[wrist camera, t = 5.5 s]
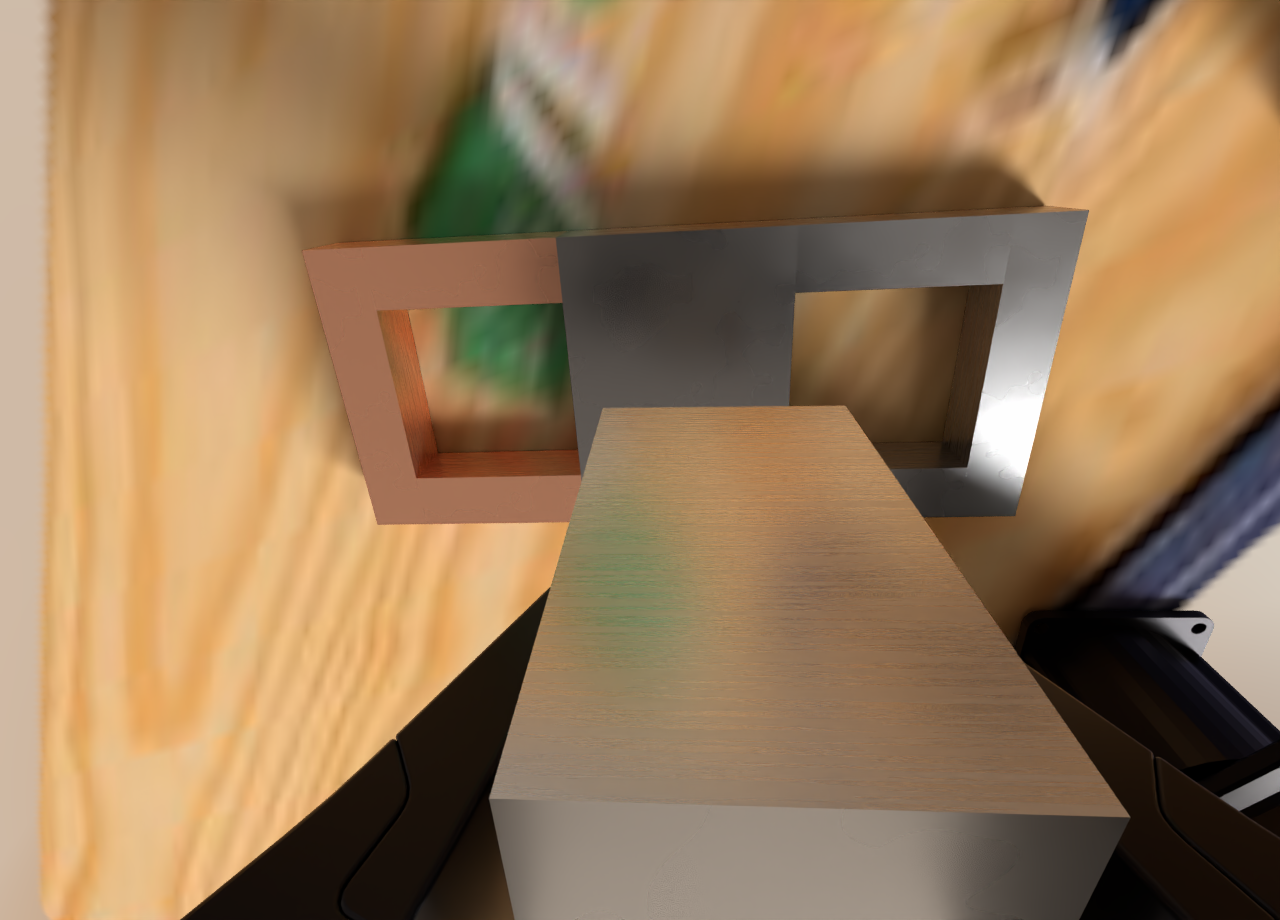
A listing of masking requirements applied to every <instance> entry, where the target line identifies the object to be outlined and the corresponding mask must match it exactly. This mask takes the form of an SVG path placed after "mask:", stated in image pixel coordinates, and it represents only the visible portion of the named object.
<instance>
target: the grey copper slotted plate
mask: <svg viewBox="0 0 1280 920" xmlns="http://www.w3.org/2000/svg"><path fill="white" fill-rule="evenodd" d="M1088 213H1089V210H1082V209H1072V208H1063V207H1053V206H1034V207H1015V208H996V209H977V210H958V211H938V212H919V213H900V214H881V215H862V216H842V217H823V218H804V219H785V220H766V221H746V222H727V223H708V224H689V225H670V226H650V227H631V228H612V229H593V230H574V231H555V232H535V233H516V234H497V235H478V236H459V237H439V238H420V239H401V240H382V241H363V242H343V243H335V244H330V245H325V246H321V247H316V248H312V249H307V250H302V253H303V256H304V260H305V264H306V267H307V271H308V275H309V278H310V282H311V285H312V289H313V293H314V296H315V300H316V303H317V307H318V311H319V314H320V318H321V322H322V325H323V329H324V332H325V336H326V340H327V343H328V347H329V350H330V354H331V358H332V361H333V365H334V369H335V372H336V376H337V379H338V383H339V387H340V390H341V394H342V397H343V401H344V405H345V408H346V412H347V416H348V419H349V423H350V426H351V430H352V434H353V437H354V441H355V444H356V448H357V452H358V455H359V459H360V462H361V466H362V470H363V473H364V477H365V481H366V484H367V488H368V491H369V495H370V499H371V502H372V506H373V509H374V513H375V517H376V520H377V524H378V525H386V524H461V523H536V522H570V519H571V516H572V512H573V509H574V505H575V502H576V499H577V495H578V492H579V488H580V485H581V481H582V478H583V475H584V471H585V468H586V464H587V461H588V457H589V454H590V451H591V447H592V444H593V440H594V437H595V433H596V430H597V426H598V423H599V420H600V416H601V413H602V409H603V408H652V407H757V406H789V396H790V378H791V359H792V340H793V322H794V303H795V293H802V292H826V291H849V290H873V289H896V288H920V287H943V286H967V285H969V291H968V296H967V302H966V308H965V314H964V320H963V325H962V331H961V337H960V343H959V349H958V354H957V360H956V366H955V372H954V378H953V383H952V389H951V395H950V401H949V407H948V412H947V418H946V424H945V430H944V436H943V441H940V442H896V443H872V445H873V446H874V448H875V449H876V450H877V452H878V453H879V455H880V456H881V458H882V459H883V461H884V462H885V463H886V465H887V466H888V468H889V469H890V471H891V472H892V474H893V475H894V476H895V478H896V479H897V481H898V482H899V484H900V485H901V487H902V488H903V489H904V491H905V492H906V494H907V495H908V497H909V498H910V500H911V501H912V502H913V504H914V505H915V507H916V508H917V510H918V511H919V513H920V514H921V515H922V517H984V516H1015V515H1016V510H1017V506H1018V502H1019V498H1020V494H1021V490H1022V486H1023V481H1024V477H1025V473H1026V469H1027V465H1028V461H1029V457H1030V452H1031V448H1032V444H1033V440H1034V436H1035V432H1036V428H1037V424H1038V419H1039V415H1040V411H1041V407H1042V403H1043V399H1044V395H1045V390H1046V386H1047V382H1048V378H1049V374H1050V370H1051V366H1052V362H1053V357H1054V353H1055V349H1056V345H1057V341H1058V337H1059V333H1060V328H1061V324H1062V320H1063V316H1064V312H1065V308H1066V304H1067V299H1068V295H1069V291H1070V287H1071V283H1072V279H1073V275H1074V271H1075V266H1076V262H1077V258H1078V254H1079V250H1080V246H1081V242H1082V237H1083V233H1084V229H1085V225H1086V221H1087V217H1088ZM544 303H563V312H564V321H565V330H566V340H567V349H568V359H569V368H570V377H571V387H572V396H573V405H574V415H575V424H576V434H577V443H578V450H548V451H504V452H461V453H438V451H437V446H436V441H435V437H434V432H433V427H432V423H431V418H430V413H429V409H428V404H427V399H426V395H425V390H424V385H423V381H422V376H421V372H420V367H419V362H418V358H417V353H416V348H415V344H414V339H413V334H412V330H411V325H410V320H409V316H408V311H407V309H427V308H450V307H474V306H497V305H521V304H544Z"/></svg>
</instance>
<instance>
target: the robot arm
mask: <svg viewBox="0 0 1280 920" xmlns="http://www.w3.org/2000/svg"><path fill="white" fill-rule="evenodd" d="M550 588H551V587H550ZM550 588H549V589H548V590H547V591H546V592H545V593H543V594H542V595H541V596H540V597H539V598H538V599H537V600H536V601H535V602H534V603H533V604H532V605H531V606H530V607H529V608H528V609H527V610H526V611H525V612H524V613H523V614H522V615H521V616H520V617H518V618H517V619H516V620H515V621H514V622H513V623H512V624H511V625H510V626H509V627H508V628H507V629H506V630H505V631H504V632H503V633H502V634H501V635H500V636H499V637H498V638H497V639H496V640H495V641H493V642H492V643H491V644H490V645H489V646H488V647H487V648H486V649H485V650H484V651H483V652H482V653H481V654H480V655H479V656H478V657H477V658H476V659H475V660H474V661H473V662H472V663H471V664H469V665H468V666H467V667H466V668H465V669H464V670H463V671H462V672H461V673H460V674H459V675H458V676H457V677H456V678H455V679H454V680H453V681H452V682H451V683H450V684H449V685H448V686H447V687H446V688H444V689H443V690H442V691H441V692H440V693H439V694H438V695H437V696H436V697H435V698H434V699H433V700H432V701H431V702H430V703H429V704H428V705H427V706H426V707H425V708H424V709H423V710H422V711H421V712H419V713H418V714H417V715H416V716H415V717H414V718H413V719H412V720H411V721H410V722H409V723H408V724H407V725H406V726H405V727H404V728H403V729H402V730H401V731H400V732H399V733H398V734H397V735H396V740H397V741H396V740H395V739H392V740H390V741H389V742H388V743H387V744H386V745H385V746H384V747H383V748H382V749H381V750H380V751H379V752H377V753H376V754H375V755H374V756H373V757H372V758H371V759H370V760H369V761H368V762H367V763H366V764H365V765H364V766H363V767H362V768H360V769H359V770H358V771H357V772H356V773H355V774H354V775H353V776H352V777H351V778H350V779H348V780H347V781H346V782H345V783H344V784H343V785H342V786H341V787H340V788H339V789H338V790H336V791H335V792H334V793H333V794H332V795H331V796H330V797H329V798H328V799H326V800H325V801H324V802H323V803H322V804H320V805H319V806H318V807H317V808H316V809H314V810H313V811H312V812H311V813H310V814H309V815H307V816H306V817H305V818H304V819H303V820H301V821H300V822H299V823H298V824H297V825H296V826H294V827H293V828H292V829H291V830H290V831H288V832H287V833H286V834H285V835H284V836H282V837H281V838H280V839H279V840H278V841H276V842H275V843H274V844H273V845H271V846H270V847H269V848H268V849H267V850H265V851H264V852H263V853H262V854H260V855H259V856H258V857H257V858H255V859H254V860H253V861H252V862H251V863H249V864H248V865H247V866H246V867H244V868H243V869H242V870H241V871H239V872H238V873H237V874H236V875H235V876H233V877H232V878H231V879H230V880H228V881H227V882H226V883H225V884H224V885H222V886H221V887H220V888H219V889H217V890H216V891H215V892H214V893H212V894H211V895H210V896H209V897H208V898H206V899H205V900H204V901H203V902H201V903H200V904H199V905H198V906H196V907H195V908H194V909H193V910H192V911H190V912H189V913H188V914H187V915H185V916H184V917H183V918H182V919H181V920H515V919H514V914H513V909H512V905H511V900H510V895H509V890H508V886H507V881H506V876H505V872H504V867H503V862H502V857H501V853H500V848H499V843H498V839H497V834H496V829H495V824H494V820H493V815H492V810H491V806H490V801H489V797H490V794H491V790H492V787H493V783H494V780H495V776H496V773H497V770H498V766H499V763H500V759H501V756H502V752H503V749H504V746H505V742H506V739H507V735H508V732H509V728H510V725H511V722H512V718H513V715H514V711H515V708H516V704H517V701H518V698H519V694H520V691H521V687H522V684H523V680H524V677H525V673H526V670H527V667H528V663H529V660H530V656H531V653H532V649H533V646H534V643H535V639H536V636H537V632H538V629H539V625H540V622H541V619H542V615H543V612H544V608H545V605H546V601H547V598H548V595H549V591H550ZM1041 623H1042V624H1041ZM1038 624H1041V625H1039V626H1036V625H1038ZM1213 628H1214V623H1213V621H1212V620H1211V619H1210V618H1208V617H1207V616H1206V615H1205V614H1204V613H1202V612H1200V611H1035V612H1032V613H1029V614H1028V615H1027V616H1025V617H1024V619H1023V621H1022V624H1021V628H1020V632H1019V635H1018V639H1017V643H1016V646H1015V651H1016V653H1017V654H1018V656H1019V657H1020V658H1021V660H1022V661H1023V663H1024V664H1025V666H1026V667H1027V669H1028V670H1029V671H1030V673H1031V674H1032V676H1033V677H1034V679H1035V680H1036V681H1037V683H1038V684H1039V686H1040V687H1041V689H1042V690H1043V692H1044V693H1045V694H1046V696H1047V697H1048V699H1049V700H1050V702H1051V703H1052V705H1053V706H1054V707H1055V709H1056V710H1057V712H1058V713H1059V715H1060V716H1061V718H1062V719H1063V720H1064V722H1065V723H1066V725H1067V726H1068V728H1069V729H1070V731H1071V732H1072V733H1073V735H1074V736H1075V738H1076V739H1077V741H1078V742H1079V744H1080V745H1081V746H1082V748H1083V749H1084V751H1085V752H1086V754H1087V755H1088V757H1089V758H1090V759H1091V761H1092V762H1093V764H1094V765H1095V767H1096V768H1097V770H1098V771H1099V772H1100V774H1101V775H1102V777H1103V778H1104V780H1105V781H1106V783H1107V784H1108V785H1109V787H1110V788H1111V790H1112V791H1113V793H1114V794H1115V796H1116V797H1117V798H1118V800H1119V801H1120V803H1121V804H1122V806H1123V807H1124V809H1125V810H1126V811H1127V813H1128V814H1129V816H1130V817H1131V818H1130V820H1129V822H1128V824H1127V826H1126V828H1125V830H1124V832H1123V833H1122V835H1121V837H1120V839H1119V841H1118V843H1117V845H1116V847H1115V849H1114V851H1113V853H1112V855H1111V857H1110V859H1109V861H1108V863H1107V865H1106V867H1105V869H1104V871H1103V873H1102V875H1101V877H1100V879H1099V881H1098V883H1097V885H1096V887H1095V889H1094V891H1093V893H1092V895H1091V897H1090V899H1089V901H1088V903H1087V905H1086V907H1085V909H1084V911H1083V913H1082V915H1081V917H1080V919H1079V920H1280V731H1279V730H1278V729H1277V728H1276V727H1275V726H1274V725H1273V724H1272V723H1271V722H1270V721H1269V720H1267V719H1266V718H1265V717H1264V716H1263V715H1262V714H1261V713H1260V712H1259V711H1258V710H1257V709H1256V708H1255V707H1254V706H1253V705H1252V704H1250V703H1249V702H1248V701H1247V700H1246V699H1245V698H1244V697H1243V696H1242V695H1241V694H1240V693H1239V692H1238V691H1237V690H1236V689H1235V688H1233V687H1232V686H1231V685H1230V684H1229V683H1228V682H1227V681H1226V680H1225V679H1224V678H1223V677H1222V676H1221V675H1219V673H1218V672H1216V671H1215V670H1214V669H1213V668H1212V667H1211V666H1210V665H1209V664H1208V663H1207V662H1206V661H1205V660H1204V659H1203V658H1202V657H1201V656H1202V653H1203V651H1204V649H1205V646H1206V644H1207V642H1208V640H1209V637H1210V635H1211V633H1212V630H1213Z"/></svg>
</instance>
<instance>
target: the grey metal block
mask: <svg viewBox="0 0 1280 920" xmlns="http://www.w3.org/2000/svg"><path fill="white" fill-rule="evenodd" d="M489 801H490V806H491V810H492V815H493V820H494V824H495V829H496V834H497V839H498V843H499V848H500V853H501V857H502V862H503V867H504V872H505V876H506V881H507V886H508V890H509V895H510V900H511V905H512V909H513V914H514V919H515V920H1079V919H1080V917H1081V915H1082V913H1083V911H1084V909H1085V907H1086V905H1087V903H1088V901H1089V899H1090V897H1091V895H1092V893H1093V891H1094V889H1095V887H1096V885H1097V883H1098V881H1099V879H1100V877H1101V875H1102V873H1103V871H1104V869H1105V867H1106V865H1107V863H1108V861H1109V859H1110V857H1111V855H1112V853H1113V851H1114V849H1115V847H1116V845H1117V843H1118V841H1119V839H1120V837H1121V835H1122V833H1123V832H1124V830H1125V828H1126V826H1127V824H1128V822H1129V820H1130V818H1131V817H1130V816H1129V814H1128V813H1127V811H1126V810H1125V809H1124V807H1123V806H1122V804H1121V803H1120V801H1119V800H1118V798H1117V797H1116V796H1115V794H1114V793H1113V791H1112V790H1111V788H1110V787H1109V785H1108V784H1107V783H1106V781H1105V780H1104V778H1103V777H1102V775H1101V774H1100V772H1099V771H1098V770H1097V768H1096V767H1095V765H1094V764H1093V762H1092V761H1091V759H1090V758H1089V757H1088V755H1087V754H1086V752H1085V751H1084V749H1083V748H1082V746H1081V745H1080V744H1079V742H1078V741H1077V739H1076V738H1075V736H1074V735H1073V733H1072V732H1071V731H1070V729H1069V728H1068V726H1067V725H1066V723H1065V722H1064V720H1063V719H1062V718H1061V716H1060V715H1059V713H1058V712H1057V710H1056V709H1055V707H1054V706H1053V705H1052V703H1051V702H1050V700H1049V699H1048V697H1047V696H1046V694H1045V693H1044V692H1043V690H1042V689H1041V687H1040V686H1039V684H1038V683H1037V681H1036V680H1035V679H1034V677H1033V676H1032V674H1031V673H1030V671H1029V670H1028V669H1027V667H1026V666H1025V664H1024V663H1023V661H1022V660H1021V658H1020V657H1019V656H1018V654H1017V653H1016V651H1015V650H1014V648H1013V647H1012V645H1011V644H1010V643H1009V641H1008V640H1007V638H1006V637H1005V635H1004V634H1003V632H1002V631H1001V630H1000V628H999V627H998V625H997V624H996V622H995V621H994V619H993V618H992V617H991V615H990V614H989V612H988V611H987V609H986V608H985V606H984V605H983V604H982V602H981V601H980V599H979V598H978V596H977V595H976V593H975V592H974V591H973V589H972V588H971V586H970V585H969V583H968V582H967V580H966V579H965V578H964V576H963V575H962V573H961V572H960V570H959V569H958V567H957V566H956V565H955V563H954V562H953V560H952V559H951V557H950V556H949V554H948V553H947V552H946V550H945V549H944V547H943V546H942V544H941V543H940V541H939V540H938V539H937V537H936V536H935V534H934V533H933V531H932V530H931V528H930V527H929V526H928V524H927V523H926V521H925V520H924V518H923V517H922V515H921V514H920V513H919V511H918V510H917V508H916V507H915V505H914V504H913V502H912V501H911V500H910V498H909V497H908V495H907V494H906V492H905V491H904V489H903V488H902V487H901V485H900V484H899V482H898V481H897V479H896V478H895V476H894V475H893V474H892V472H891V471H890V469H889V468H888V466H887V465H886V463H885V462H884V461H883V459H882V458H881V456H880V455H879V453H878V452H877V450H876V449H875V448H874V446H873V445H872V443H871V442H870V440H869V439H868V438H867V436H866V435H865V433H864V432H863V430H862V429H861V427H860V426H859V425H858V423H857V422H856V420H855V419H854V417H853V416H852V414H851V413H850V412H849V410H848V409H847V407H846V406H757V407H652V408H603V409H602V413H601V416H600V420H599V423H598V426H597V430H596V433H595V437H594V440H593V444H592V447H591V451H590V454H589V457H588V461H587V464H586V468H585V471H584V475H583V478H582V481H581V485H580V488H579V492H578V495H577V499H576V502H575V505H574V509H573V512H572V516H571V519H570V523H569V526H568V529H567V533H566V536H565V540H564V543H563V547H562V550H561V553H560V557H559V560H558V564H557V567H556V571H555V574H554V577H553V581H552V584H551V588H550V591H549V595H548V598H547V601H546V605H545V608H544V612H543V615H542V619H541V622H540V625H539V629H538V632H537V636H536V639H535V643H534V646H533V649H532V653H531V656H530V660H529V663H528V667H527V670H526V673H525V677H524V680H523V684H522V687H521V691H520V694H519V698H518V701H517V704H516V708H515V711H514V715H513V718H512V722H511V725H510V728H509V732H508V735H507V739H506V742H505V746H504V749H503V752H502V756H501V759H500V763H499V766H498V770H497V773H496V776H495V780H494V783H493V787H492V790H491V794H490V797H489Z"/></svg>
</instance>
